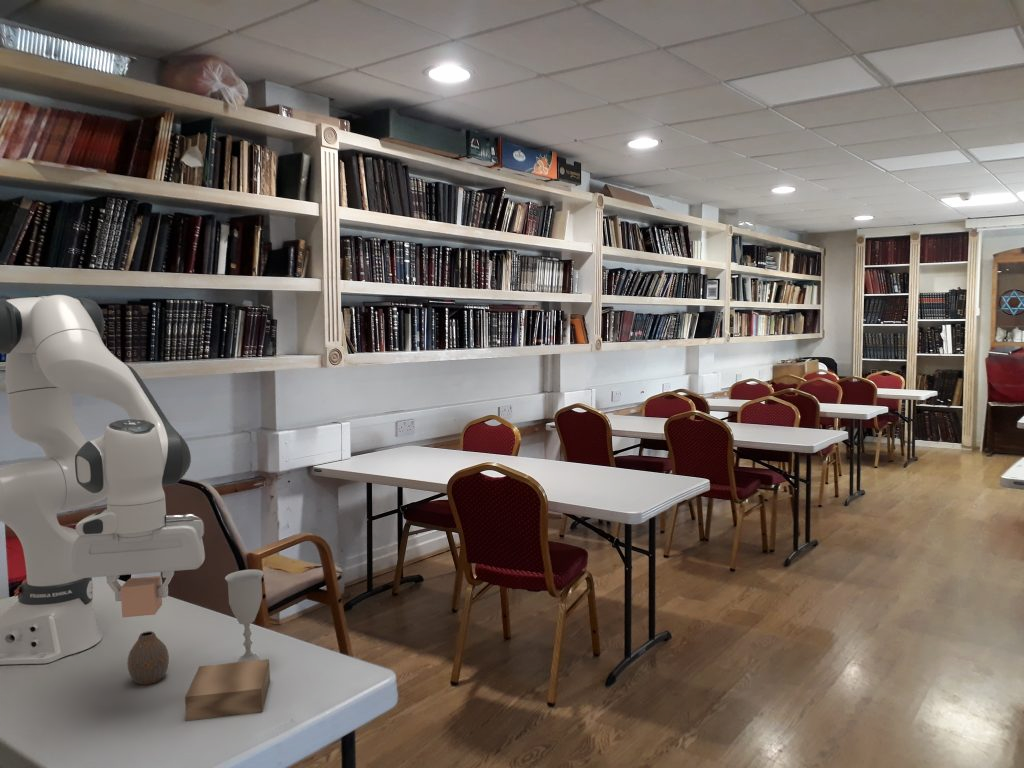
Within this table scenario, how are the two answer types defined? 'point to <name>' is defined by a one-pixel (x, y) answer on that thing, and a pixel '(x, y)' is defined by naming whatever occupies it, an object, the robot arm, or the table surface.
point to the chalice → (245, 603)
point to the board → (228, 689)
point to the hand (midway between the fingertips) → (142, 598)
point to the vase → (148, 659)
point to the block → (140, 596)
